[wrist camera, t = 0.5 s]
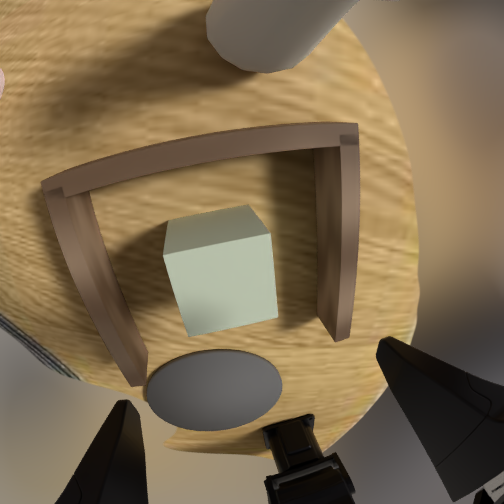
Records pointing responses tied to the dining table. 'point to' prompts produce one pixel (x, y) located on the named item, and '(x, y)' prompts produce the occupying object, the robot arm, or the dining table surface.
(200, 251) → the block
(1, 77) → the smoothie
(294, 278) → the dining table surface
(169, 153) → the bay
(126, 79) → the dining table surface
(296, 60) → the salt shaker
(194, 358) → the coaster
